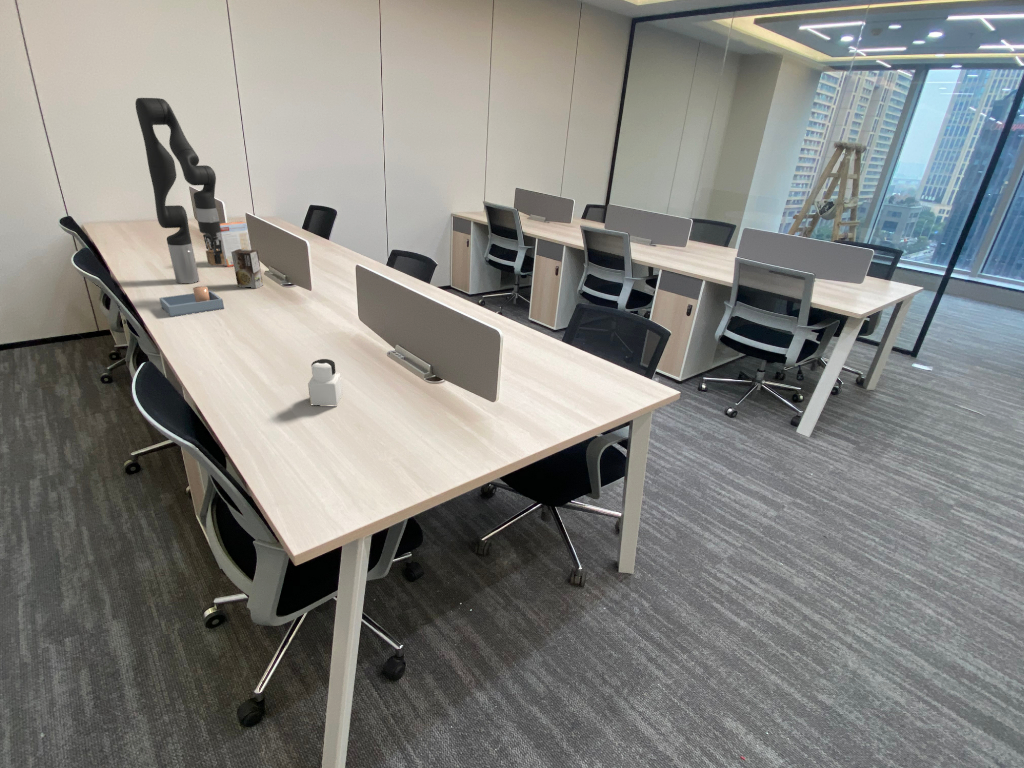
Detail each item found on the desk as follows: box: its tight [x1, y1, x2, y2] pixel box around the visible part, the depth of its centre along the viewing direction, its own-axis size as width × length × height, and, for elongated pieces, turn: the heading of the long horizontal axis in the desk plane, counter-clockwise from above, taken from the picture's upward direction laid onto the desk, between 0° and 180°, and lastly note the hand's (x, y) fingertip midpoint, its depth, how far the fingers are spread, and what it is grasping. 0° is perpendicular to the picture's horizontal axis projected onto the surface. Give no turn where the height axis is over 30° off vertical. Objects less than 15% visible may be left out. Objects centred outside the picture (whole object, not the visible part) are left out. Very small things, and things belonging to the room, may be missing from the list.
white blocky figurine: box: [307, 358, 343, 406], centre depth 141 cm, size 7×7×12 cm
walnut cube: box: [205, 249, 225, 266], centre depth 209 cm, size 5×5×5 cm
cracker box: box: [216, 221, 252, 268], centre depth 263 cm, size 14×6×21 cm, turn 144°
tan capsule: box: [192, 285, 210, 302], centre depth 204 cm, size 5×5×7 cm
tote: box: [159, 290, 225, 318], centre depth 202 cm, size 14×19×4 cm
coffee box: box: [231, 249, 264, 289], centre depth 231 cm, size 9×6×16 cm
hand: (216, 262), depth 210 cm, fingers closed on walnut cube, 5 cm apart
